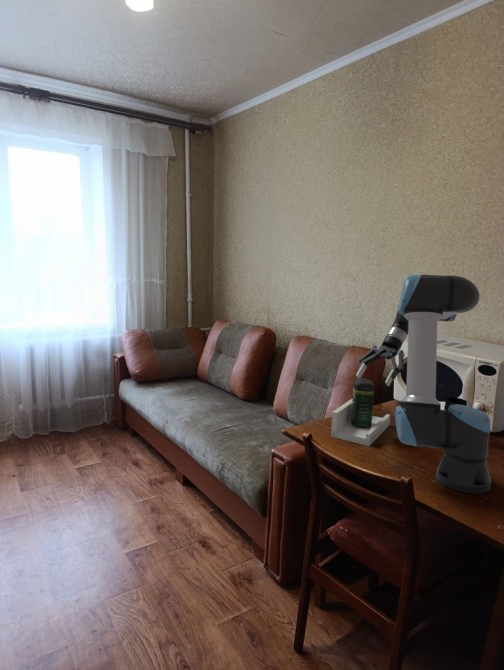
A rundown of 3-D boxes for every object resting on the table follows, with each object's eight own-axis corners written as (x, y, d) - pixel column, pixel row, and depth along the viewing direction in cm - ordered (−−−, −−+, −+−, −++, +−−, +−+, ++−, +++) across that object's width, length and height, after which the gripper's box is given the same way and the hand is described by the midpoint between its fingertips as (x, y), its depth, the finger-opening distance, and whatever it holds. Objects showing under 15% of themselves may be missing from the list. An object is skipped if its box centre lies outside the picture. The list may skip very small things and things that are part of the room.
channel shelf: (369, 446, 159) (370, 420, 157) (330, 436, 167) (332, 411, 165) (389, 425, 180) (391, 402, 179) (354, 417, 188) (356, 395, 187)
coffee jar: (373, 429, 168) (376, 383, 165) (352, 428, 169) (355, 382, 166) (369, 420, 178) (372, 377, 175) (349, 419, 179) (352, 376, 176)
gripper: (424, 350, 176) (403, 392, 168) (371, 341, 194) (349, 379, 187) (419, 339, 171) (397, 381, 164) (365, 331, 190) (343, 369, 182)
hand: (371, 380), depth 175 cm, fingers open, 13 cm apart
